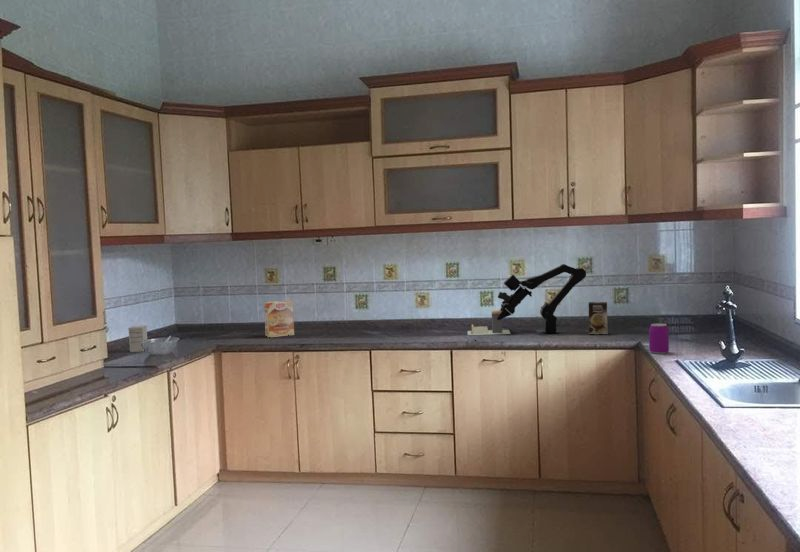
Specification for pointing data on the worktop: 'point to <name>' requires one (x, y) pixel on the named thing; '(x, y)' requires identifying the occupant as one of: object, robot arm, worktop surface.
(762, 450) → the worktop surface
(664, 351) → the beverage can
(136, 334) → the supplement box
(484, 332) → the board
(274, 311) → the coffeecake box
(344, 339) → the worktop surface
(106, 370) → the worktop surface
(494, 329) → the plug
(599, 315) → the coffee box
